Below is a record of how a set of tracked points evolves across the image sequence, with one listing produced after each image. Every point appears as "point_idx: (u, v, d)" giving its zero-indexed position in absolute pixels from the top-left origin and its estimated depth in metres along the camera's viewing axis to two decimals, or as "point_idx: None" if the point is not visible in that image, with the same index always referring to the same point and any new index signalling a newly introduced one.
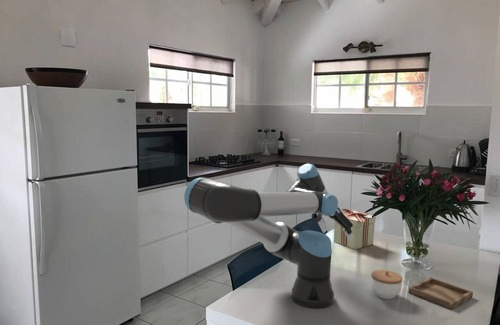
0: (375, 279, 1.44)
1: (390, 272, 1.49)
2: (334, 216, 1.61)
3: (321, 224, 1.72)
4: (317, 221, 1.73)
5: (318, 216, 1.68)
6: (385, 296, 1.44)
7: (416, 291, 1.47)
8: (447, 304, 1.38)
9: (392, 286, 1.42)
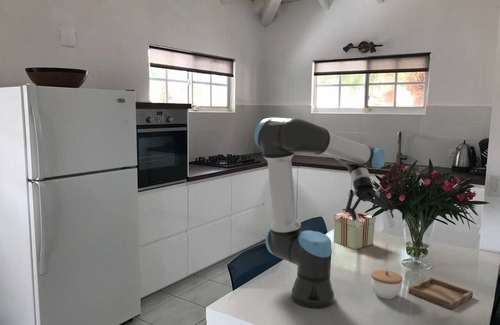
0: (375, 279, 1.44)
1: (390, 272, 1.49)
2: None
3: None
4: (352, 212, 1.57)
5: (357, 202, 1.60)
6: (385, 296, 1.44)
7: (416, 291, 1.47)
8: (447, 304, 1.38)
9: (392, 286, 1.42)
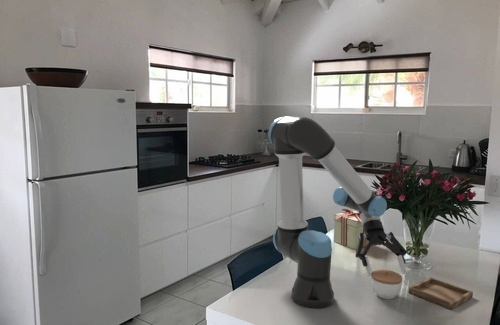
0: (375, 279, 1.44)
1: (390, 272, 1.49)
2: None
3: None
4: (363, 258, 1.51)
5: (368, 246, 1.53)
6: (385, 296, 1.44)
7: (416, 291, 1.47)
8: (447, 304, 1.38)
9: (392, 286, 1.41)
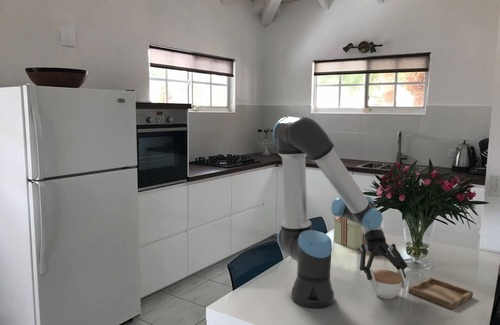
0: (375, 279, 1.44)
1: (390, 272, 1.49)
2: None
3: None
4: (368, 271, 1.46)
5: (371, 259, 1.49)
6: (385, 296, 1.43)
7: (416, 291, 1.47)
8: (447, 304, 1.38)
9: (392, 286, 1.41)
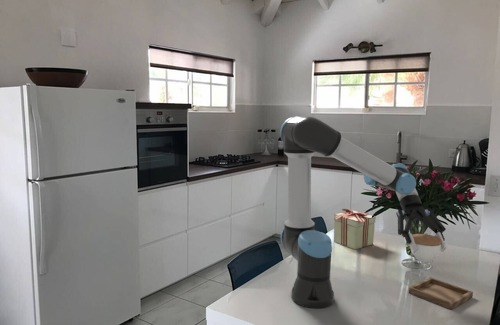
0: (415, 242, 1.44)
1: (428, 235, 1.49)
2: None
3: None
4: (406, 235, 1.46)
5: (409, 223, 1.49)
6: (425, 258, 1.43)
7: (416, 291, 1.47)
8: (447, 304, 1.38)
9: (433, 248, 1.41)
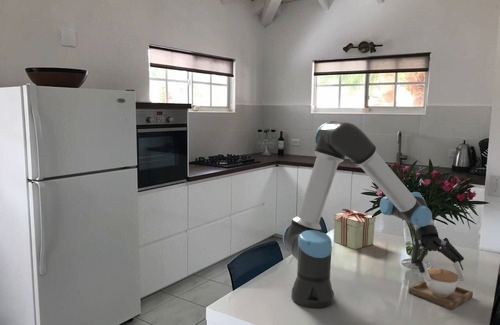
0: (431, 277, 1.45)
1: (444, 270, 1.50)
2: None
3: None
4: (420, 264, 1.47)
5: (424, 252, 1.50)
6: (441, 294, 1.45)
7: (416, 291, 1.47)
8: (447, 304, 1.38)
9: (449, 284, 1.43)
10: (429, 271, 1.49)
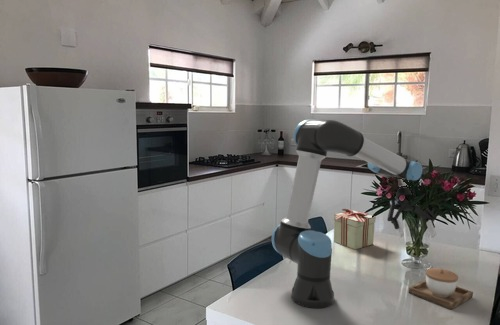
0: (431, 277, 1.45)
1: (444, 270, 1.50)
2: None
3: None
4: (395, 221, 1.61)
5: (399, 211, 1.63)
6: (441, 294, 1.45)
7: (416, 291, 1.47)
8: (447, 304, 1.38)
9: (449, 284, 1.43)
10: (429, 271, 1.49)
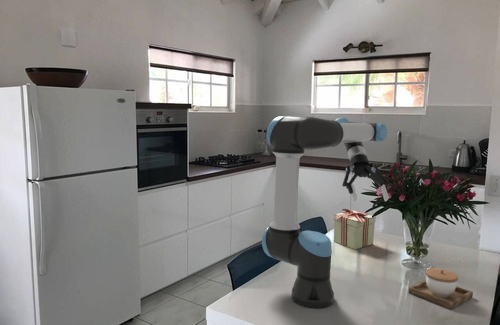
0: (431, 277, 1.45)
1: (444, 270, 1.50)
2: None
3: None
4: (349, 186, 1.65)
5: (354, 177, 1.67)
6: (441, 294, 1.45)
7: (416, 291, 1.47)
8: (447, 304, 1.38)
9: (449, 284, 1.43)
10: (429, 271, 1.49)
